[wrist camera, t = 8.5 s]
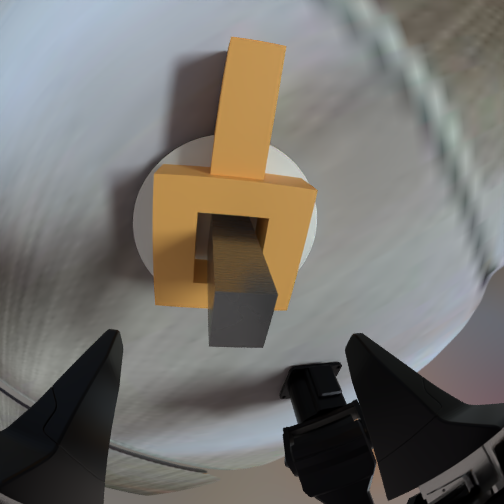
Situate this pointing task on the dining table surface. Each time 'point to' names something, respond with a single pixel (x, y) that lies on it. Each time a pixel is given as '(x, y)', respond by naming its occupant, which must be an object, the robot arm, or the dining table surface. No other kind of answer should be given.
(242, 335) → the dark grey post
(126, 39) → the dining table surface
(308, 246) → the bracket
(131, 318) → the dining table surface
